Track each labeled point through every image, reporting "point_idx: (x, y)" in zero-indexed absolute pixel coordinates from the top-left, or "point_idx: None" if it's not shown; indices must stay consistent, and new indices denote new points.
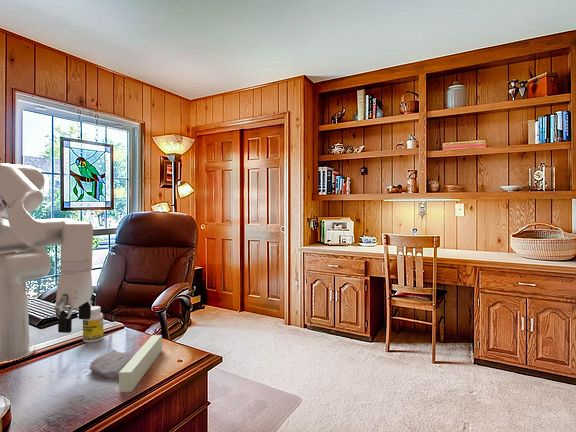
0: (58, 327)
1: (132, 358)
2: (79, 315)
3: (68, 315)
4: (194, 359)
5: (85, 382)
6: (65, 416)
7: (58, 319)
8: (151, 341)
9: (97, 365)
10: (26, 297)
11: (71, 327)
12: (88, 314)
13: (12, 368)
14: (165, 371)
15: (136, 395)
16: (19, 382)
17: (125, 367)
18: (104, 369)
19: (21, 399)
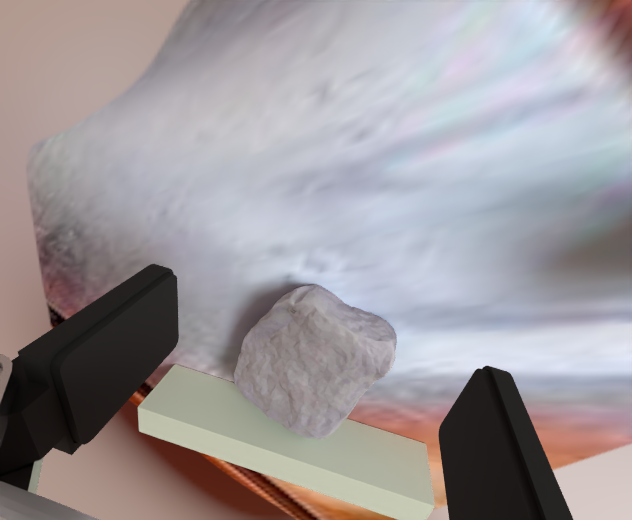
0: (125, 283)
1: (227, 439)
2: (487, 402)
3: (2, 470)
4: (318, 508)
5: (237, 279)
6: (76, 266)
7: (39, 338)
8: (364, 495)
9: (281, 321)
10: None
11: (149, 369)
12: (448, 476)
13: None
14: None
15: None
16: (281, 9)
17: (167, 421)
18: (258, 340)
19: (148, 101)
